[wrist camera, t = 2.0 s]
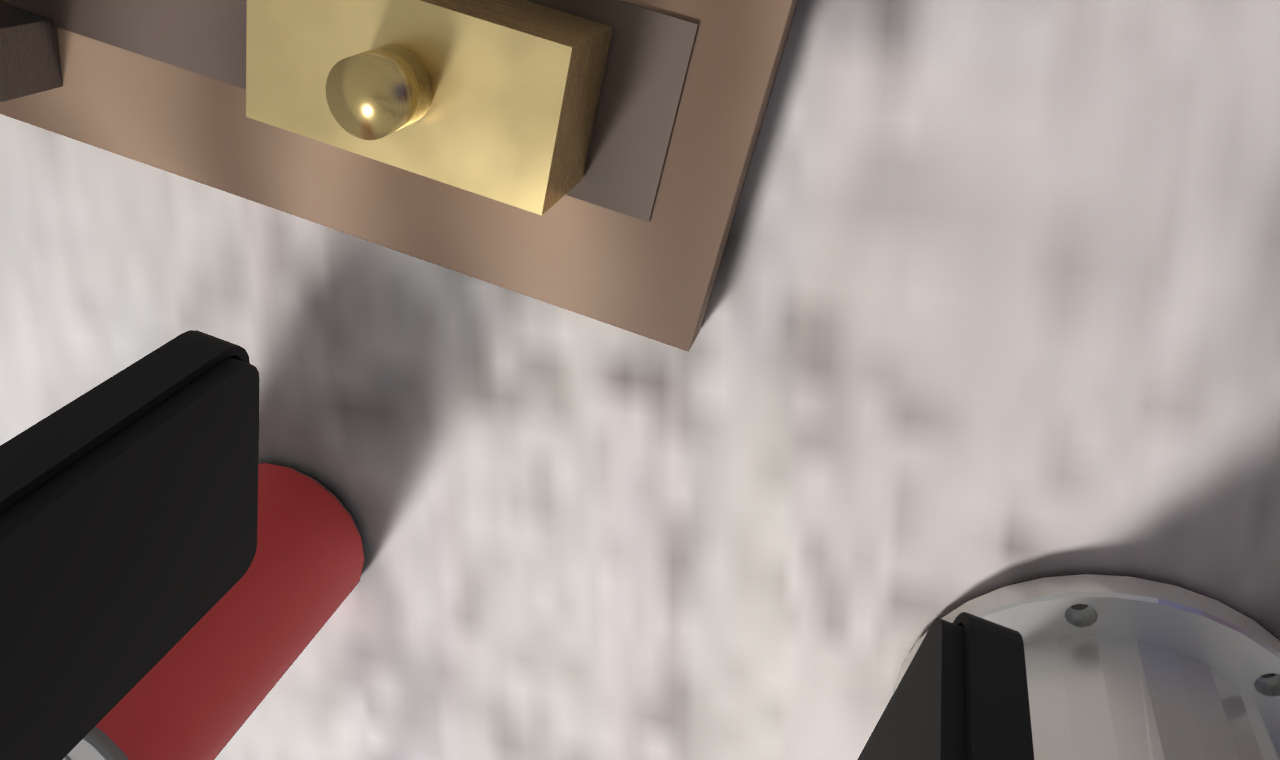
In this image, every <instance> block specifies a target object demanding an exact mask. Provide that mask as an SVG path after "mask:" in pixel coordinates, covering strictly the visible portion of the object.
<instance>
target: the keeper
mask: <svg viewBox="0 0 1280 760" xmlns="http://www.w3.org/2000/svg"><path fill="white" fill-rule="evenodd" d="M62 86H63V82H62V72H61V61H60V51H59V41H58V31H57V27H55V26H54V19H51V18H48V17H45V16H42V15H39V14H36V13H33V12H30V11H27V10H24V9H21V8H18V7H15V6H12V5H10V4H9V3H7V2H4V1H1V0H0V102H4V101H8V100H12V99H16V98H20V97H24V96H27V95H31V94H35V93H39V92H43V91H47V90H51V89H55V88H58V87H62Z"/></svg>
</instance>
